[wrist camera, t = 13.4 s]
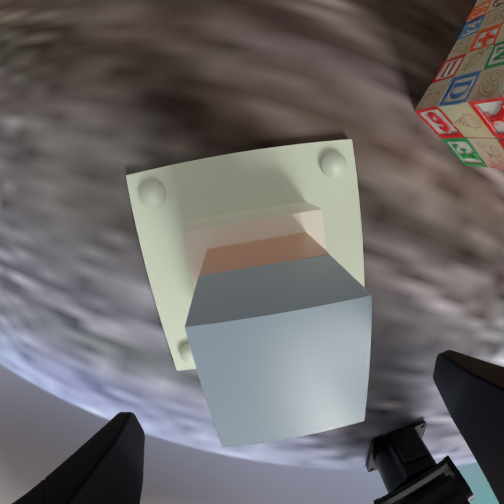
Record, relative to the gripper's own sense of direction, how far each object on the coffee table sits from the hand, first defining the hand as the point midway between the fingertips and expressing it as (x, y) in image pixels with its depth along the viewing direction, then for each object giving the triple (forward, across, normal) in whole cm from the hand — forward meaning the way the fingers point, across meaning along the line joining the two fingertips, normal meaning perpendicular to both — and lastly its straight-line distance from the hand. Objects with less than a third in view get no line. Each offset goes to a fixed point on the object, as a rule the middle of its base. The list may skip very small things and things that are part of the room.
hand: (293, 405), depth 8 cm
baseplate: (+13, 0, 0) cm, 13 cm away
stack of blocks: (+13, -22, -14) cm, 30 cm away
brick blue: (+5, 0, 0) cm, 5 cm away
